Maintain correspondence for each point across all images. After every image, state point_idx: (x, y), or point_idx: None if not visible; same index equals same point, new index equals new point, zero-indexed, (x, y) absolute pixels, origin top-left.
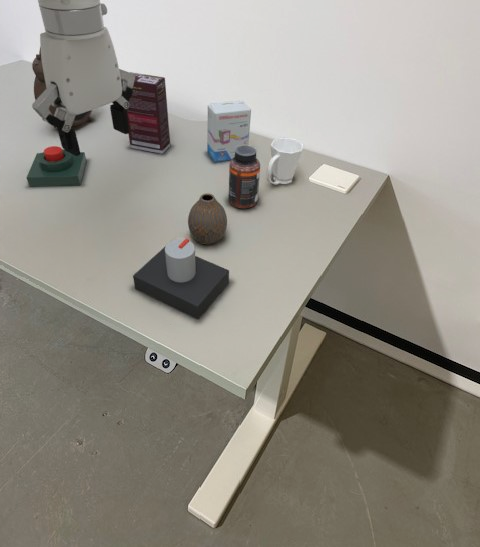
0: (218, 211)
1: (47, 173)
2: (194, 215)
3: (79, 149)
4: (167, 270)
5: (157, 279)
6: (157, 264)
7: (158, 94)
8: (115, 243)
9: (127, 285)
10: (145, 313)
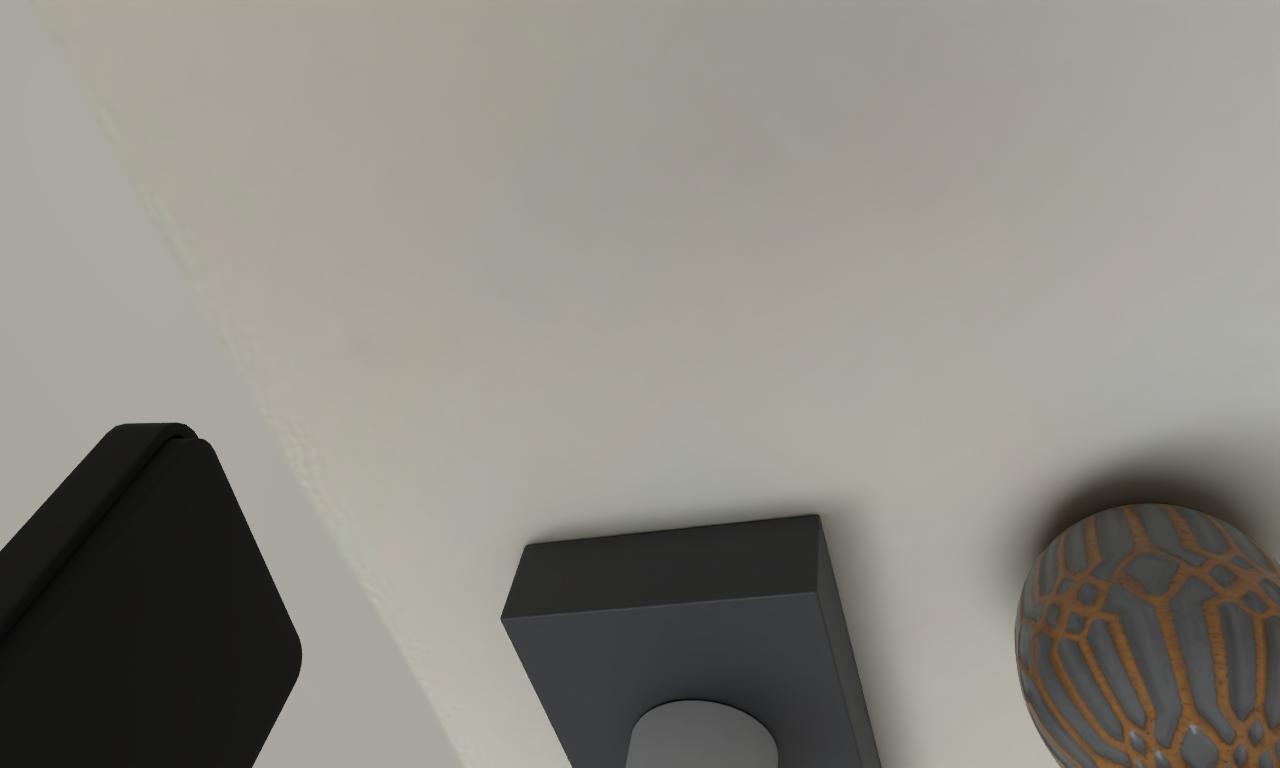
0: None
1: None
2: (1068, 726)
3: (272, 725)
4: (629, 758)
5: (582, 703)
6: (650, 650)
7: None
8: (654, 204)
9: (508, 505)
10: (483, 652)
